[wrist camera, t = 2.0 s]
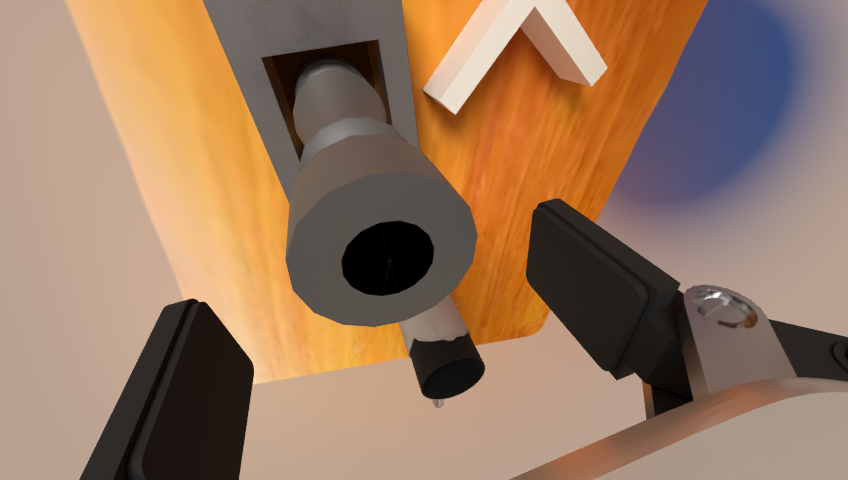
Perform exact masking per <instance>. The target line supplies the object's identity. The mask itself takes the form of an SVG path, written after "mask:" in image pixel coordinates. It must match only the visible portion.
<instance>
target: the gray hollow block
mask: <svg viewBox="0 0 848 480" xmlns="http://www.w3.org/2000/svg"><path fill="white" fill-rule="evenodd" d="M203 2H204V5H205V7H206V9H207V12H208V14H209V16H210V19H211V21H212V23H213V26H214V28H215V30H216V33H217V35H218V37H219V40H220V42H221V45H222V47H223V49H224V52H225V54H226V56H227V59H228V61H229V63H230V66H231V68H232V70H233V73H234V75H235V77H236V80H237V82H238V84H239V87H240V89H241V91H242V94H243V96H244V98H245V101H246V103H247V105H248V108H249V110H250V112H251V115H252V117H253V119H254V122H255V124H256V126H257V129H258V131H259V133H260V136H261V138H262V141H263V143H264V145H265V148H266V150H267V152H268V155H269V157H270V159H271V162H272V164H273V166H274V169H275V171H276V173H277V176H278V178H279V180H280V183H281V185H282V187H283V190H284V192H285V194H286V197H287V199H288V201H289V204H290V201H291V197H292V194H293V190H294V187H295V183H296V180H297V176H298V174H299V171H298V168H299V164H300V161H301V157H302V154H303V150H304V144H303V145H302V142H301V139H300V138H299V136H298V134H297V133H296V129H295V123H294V119H293V117H292V114H291V111H290V108H289V105H288V102H287V100H286V97H285V94H284V91H283V88H282V85H281V82H280V80H279V77H278V74H277V71H276V68H275V65H274V62H273V60H272V57H271V56H274V55H280V54H287V53H293V52H299V51H306V50H312V49H319V48H325V47H332V46H338V45H344V44H351V43H357V42H364V41H367V45H368V50H369V55H370V61H371V66H372V72H373V77H374V82H375V88H376V92H377V93H378V94H379V96H380V98H381V101H382V103H383V106H384V108H385V111H386V123H387V124H390V125H392V126H393V127H394V128H395V129H396V130H397V131H398V132H399V134H400V135H401V136H402V137H403V138H404V139H405V140H406V141H407V142H408V143H410V144H412V145H415V146H416V147H417V148H418V149H419V143H418V135H417V127H416V118H415V110H414V101H413V93H412V85H411V76H410V68H409V60H408V51H407V43H406V35H405V26H404V18H403V10H402V1H401V0H203Z"/></svg>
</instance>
